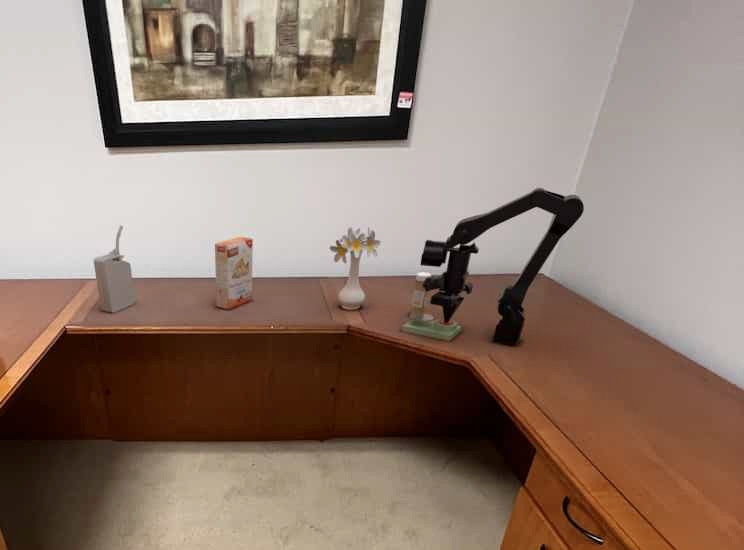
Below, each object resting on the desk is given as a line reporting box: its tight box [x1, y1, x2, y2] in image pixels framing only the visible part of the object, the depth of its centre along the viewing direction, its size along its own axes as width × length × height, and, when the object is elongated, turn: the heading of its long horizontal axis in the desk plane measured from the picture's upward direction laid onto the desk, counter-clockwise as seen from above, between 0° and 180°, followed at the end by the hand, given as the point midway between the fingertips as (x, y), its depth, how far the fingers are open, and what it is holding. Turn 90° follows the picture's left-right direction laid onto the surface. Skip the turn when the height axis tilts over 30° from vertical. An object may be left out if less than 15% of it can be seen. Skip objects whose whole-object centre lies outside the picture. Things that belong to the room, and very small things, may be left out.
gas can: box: [93, 224, 136, 314], centre depth 190 cm, size 15×5×25 cm, turn 150°
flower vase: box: [329, 226, 381, 311], centre depth 185 cm, size 13×18×25 cm
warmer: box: [401, 318, 462, 342], centre depth 172 cm, size 15×10×4 cm, turn 53°
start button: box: [440, 320, 452, 325], centre depth 169 cm, size 4×4×2 cm
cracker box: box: [214, 236, 254, 310], centre depth 192 cm, size 14×6×21 cm, turn 143°
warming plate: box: [409, 312, 434, 322], centre depth 173 cm, size 7×7×1 cm
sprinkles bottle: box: [409, 271, 432, 316], centre depth 181 cm, size 5×5×13 cm
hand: (446, 322), depth 169 cm, fingers closed, pressing on start button
